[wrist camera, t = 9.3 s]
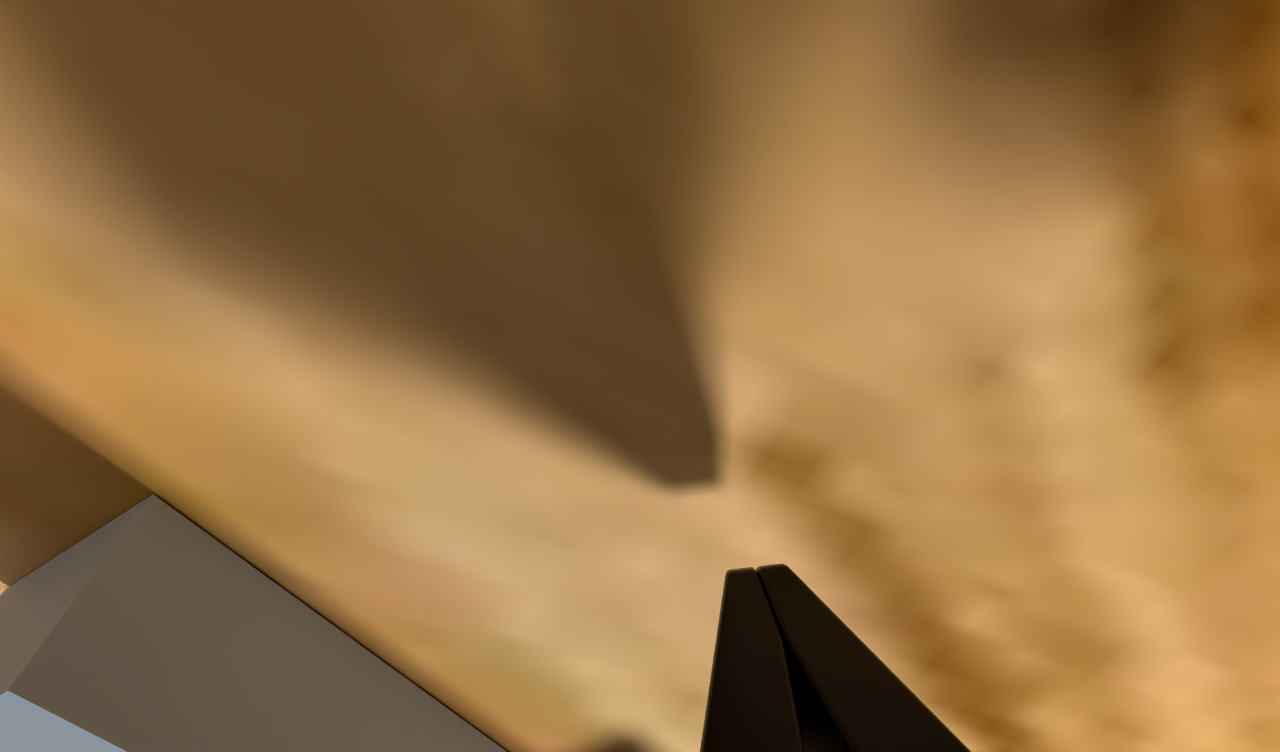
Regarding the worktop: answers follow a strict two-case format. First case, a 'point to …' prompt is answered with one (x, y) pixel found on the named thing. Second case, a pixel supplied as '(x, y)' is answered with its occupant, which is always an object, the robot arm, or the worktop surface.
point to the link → (193, 657)
